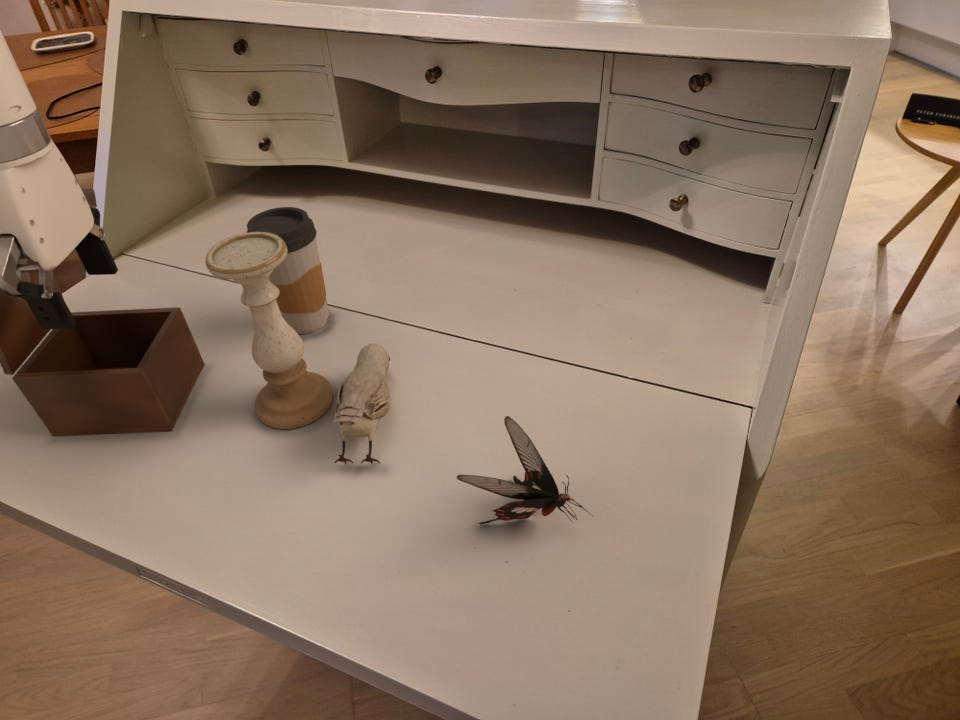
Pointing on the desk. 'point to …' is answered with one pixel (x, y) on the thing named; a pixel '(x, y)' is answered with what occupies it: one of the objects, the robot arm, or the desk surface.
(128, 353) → the keepsake box
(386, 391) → the decorative bird
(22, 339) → the lid
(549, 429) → the desk surface
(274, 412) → the candle holder
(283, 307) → the coffee cup
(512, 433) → the butterfly
